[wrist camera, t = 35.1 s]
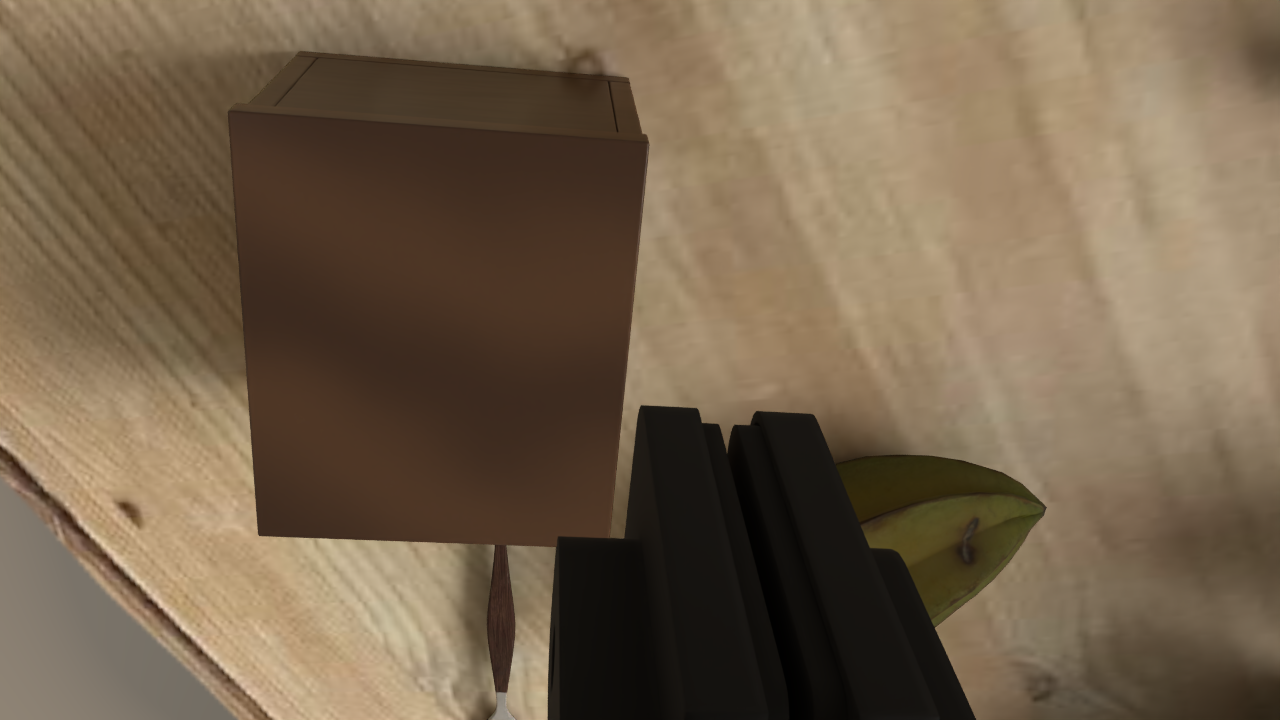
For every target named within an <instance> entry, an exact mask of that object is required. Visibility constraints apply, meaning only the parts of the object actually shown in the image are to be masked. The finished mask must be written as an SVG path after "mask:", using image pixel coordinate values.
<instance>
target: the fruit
mask: <svg viewBox="0 0 1280 720" xmlns="http://www.w3.org/2000/svg"><path fill="white" fill-rule="evenodd" d="M835 465H836V467H837V470H838V472H839V475H840V477H841V479H842V482H843V484H844V487H845V489H846V491H847V494H848V496H849V499H850V501H851V504H852V506H853V508H854V511H855V513H856V516H857V518H858V520H859V523H860V525H861V528H862V530H863V532H864V535H865V537H866V540H867V542H868V545H869V547H870V548H882V549H893V550H895V551H897V552H898V553H899V554H900V556H901V557H902V559H903V560H904V562H905V564H906V566H907V568H908V570H909V572H910V575H911V577H912V579H913V581H914V583H915V586H916V588H917V590H918V592H919V594H920V597H921V599H922V601H923V603H924V606H925V608H926V610H927V612H928V614H929V617H930V619H931V621H932V623H933V625H934V628H935V627H936V626H937V625H939V624H940V623H941V622H943V621H944V620H945V619H946V618H948V617H949V616H950V615H951V614H952V613H954V612H955V611H956V610H957V609H959V608H960V607H961V606H963V605H964V604H965V603H966V602H968V601H969V600H970V599H972V598H973V597H974V596H976V595H977V594H978V593H979V592H980V591H981V590H982V589H983V588H984V587H986V586H987V585H988V584H989V583H990V582H991V581H992V580H994V579H995V577H996V576H997V575H998V574H999V573H1000V572H1001V571H1002V570H1003V568H1004V567H1005V566H1006V565H1007V564H1008V563H1009V562H1010V560H1011V559H1012V557H1013V556H1014V555H1015V553H1016V552H1017V551H1018V549H1019V548H1020V546H1021V545H1022V544H1023V542H1024V541H1025V539H1026V537H1027V535H1028V533H1029V531H1030V530H1031V529H1032V528H1033V526H1034V525H1035V524H1036V523H1037V522H1038V521H1039V520H1040V519H1041V518H1042V517H1043V516H1044V513H1045V510H1046V508H1047V507H1046V506H1045V505H1044V504H1043V503H1042V502H1041V501H1040V500H1039V499H1038V498H1037V497H1035V496H1034V495H1033V494H1032V493H1031V492H1030V491H1029V490H1028V489H1027V488H1026V487H1025V486H1024V485H1023V484H1021V483H1020V482H1018V481H1016V480H1014V479H1013V478H1011V477H1009V476H1008V475H1006V474H1004V473H1002V472H999V471H996V470H992V469H989V468H986V467H982V466H979V465H976V464H972V463H969V462H966V461H962V460H955V459H949V458H942V457H935V456H922V455H886V456H866V457H862V458H858V459H854V460H850V461H846V462H842V463H838V464H835Z"/></svg>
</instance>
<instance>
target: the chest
mask: <svg viewBox="0 0 1280 720" xmlns="http://www.w3.org/2000/svg"><path fill="white" fill-rule="evenodd" d="M249 104H252V105H265V106H278V107H292V108H305V109H318V110H331V111H344V112H358V113H371V114H384V115H397V116H410V117H423V118H437V119H450V120H463V121H476V122H489V123H503V124H516V125H529V126H542V127H555V128H568V129H582V130H595V131H608V132H621V133H634V134H642V130H641V126H640V122H639V118H638V114H637V110H636V106H635V102H634V98H633V94H632V90H631V87H630V82H629V78H624V77H612V76H600V75H587V74H575V73H563V72H550V71H538V70H526V69H513V68H501V67H489V66H476V65H464V64H452V63H439V62H427V61H414V60H402V59H390V58H377V57H365V56H353V55H340V54H328V53H316V52H303V51H300V52H299V53H298V54H297V55H296V56H295V57H294V58H293V59H292V60H291V61H290V62H289V63H288V64H287V65H286V66H285V67H284V68H283V69H282V70H281V71H280V72H279V73H278V74H277V75H276V76H275V78H274V79H273V80H272V81H271V82H270V83H269V84H268V85H267V86H266V87H265V88H264V89H263V90H262V91H261V92H260V93H259V94H258V95H257V96H256V97H255V98H254V99H253V100H252V101H251V102H250V103H249Z"/></svg>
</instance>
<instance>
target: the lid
mask: <svg viewBox="0 0 1280 720" xmlns="http://www.w3.org/2000/svg"><path fill="white" fill-rule="evenodd" d="M228 122H229V136H230V150H231V164H232V178H233V192H234V206H235V220H236V233H237V247H238V261H239V275H240V289H241V303H242V317H243V331H244V345H245V359H246V373H247V387H248V401H249V415H250V429H251V443H252V457H253V471H254V484H255V498H256V512H257V526H258V535H259V536H272V537H300V538H327V539H354V540H381V541H409V542H436V543H463V544H490V545H518V546H545V547H556V545H557V539H558V536H564V537H590V538H610V529H611V519H612V509H613V500H614V490H615V480H616V470H617V460H618V450H619V440H620V430H621V420H622V411H623V401H624V391H625V381H626V371H627V361H628V351H629V341H630V331H631V322H632V312H633V302H634V292H635V282H636V272H637V262H638V252H639V242H640V232H641V223H642V213H643V203H644V193H645V183H646V173H647V163H648V153H649V141H648V137H647V135H646V134H634V133H621V132H608V131H595V130H582V129H568V128H555V127H542V126H529V125H516V124H503V123H489V122H476V121H463V120H450V119H437V118H423V117H410V116H397V115H384V114H371V113H358V112H344V111H331V110H318V109H305V108H292V107H278V106H265V105H252V104H239V103H237V104H235V105H234V106H233V107H232V108H231V109H230V110H229V111H228Z"/></svg>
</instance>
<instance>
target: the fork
mask: <svg viewBox="0 0 1280 720" xmlns="http://www.w3.org/2000/svg"><path fill="white" fill-rule="evenodd" d="M487 634H488V644H489V651H490V658H491V664H492V671H493V677H494V683H495V690H496V698H497V707H496V710H495V712H494V713H493V714H492V715H491V717H490V718H489V719H488V720H516V719H515V718H514V717H513V716H512V715H511V714H510V712H509V711H508V709H507V706H506V697H507V689H508V682H509V676H510V670H511V663H512V656H513V649H514V640H515V613H514V604H513V597H512V590H511V582H510V575H509V567H508V557H507V547H506V545H495V552H494V562H493V572H492V580H491V588H490V596H489V604H488V614H487Z"/></svg>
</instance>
